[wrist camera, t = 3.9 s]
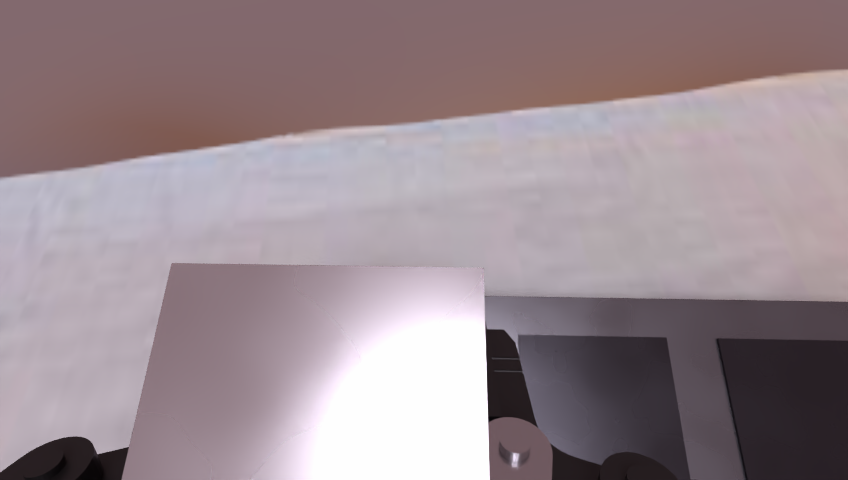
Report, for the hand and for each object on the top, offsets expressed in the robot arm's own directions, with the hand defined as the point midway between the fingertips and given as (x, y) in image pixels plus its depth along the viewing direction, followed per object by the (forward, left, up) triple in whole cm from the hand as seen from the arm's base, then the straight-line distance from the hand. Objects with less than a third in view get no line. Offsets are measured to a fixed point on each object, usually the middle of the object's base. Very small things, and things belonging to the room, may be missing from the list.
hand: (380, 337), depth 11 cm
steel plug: (0, +2, -7) cm, 7 cm away
